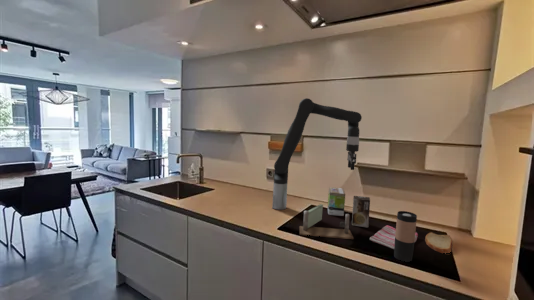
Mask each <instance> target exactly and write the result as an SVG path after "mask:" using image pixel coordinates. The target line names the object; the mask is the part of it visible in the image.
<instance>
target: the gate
mask: <svg viewBox="0 0 534 300" xmlns="http://www.w3.org/2000/svg"><path fill="white" fill-rule="evenodd" d="M323 207H324V204H322V203H321V204H320V203H319V204H318V205H316V206H314V207H312V208H311V209H309V210H308V211H309V213H308V228H309V227H313V226H314V225H315V224H317V223H318V222H320V221H322V220H323Z"/></svg>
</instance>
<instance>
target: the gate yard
mask: <svg viewBox="0 0 534 300" xmlns="http://www.w3.org/2000/svg"><path fill="white" fill-rule="evenodd" d="M308 213H309V210H304V211H303V221H302V222H303V223H302V225H299V227H298V228H299V236H307V235H308V236H309V235H310V236H311V237H319V236H320V237H323V238H334V239H344V240H345V239H346V240H354V239H355V238H354V235H353V234H352V232H351V230H350V229H349V228H350V227H349V226H350V216H351V215H350V214H349V213H345V218H344V219H345V220H344V221H340V222H339V227H340V228H331V227H321V226H320V227H319V226H318V227H317V226H311V227H309V228H308ZM343 228H344V229H343ZM310 236H309V237H310Z"/></svg>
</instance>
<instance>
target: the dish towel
mask: <svg viewBox="0 0 534 300" xmlns="http://www.w3.org/2000/svg"><path fill="white" fill-rule="evenodd" d="M395 232H396V227H393V226H390V225H389V224H388V225H385V226H383V227H382V228H381V229H379V230H378V231H377V232H376V233H374V234H373V235H372V236H370V237H369V241H371V242H372V243H376V244H379V245H381V246H384V247H387V248H389V249H392V250H394V245H395ZM418 236H419V234H418V232H415V243H416V242H417V240H418Z"/></svg>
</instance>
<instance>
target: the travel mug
mask: <svg viewBox="0 0 534 300" xmlns="http://www.w3.org/2000/svg"><path fill="white" fill-rule="evenodd" d="M417 218H418V215H417V214H416V213H414V212H411V211H405V210H400V211H397V216H396V223H395V225H396V226H395V229H396V232H395V245H394V249H393V257H394V258H395V259H396V260H398V261H400V260H401V262H404V261H405V262H406V263H409V262H410V261H411V262H412V261H413V255H414V249H415V243H416V242H415V233H417V231H416V230H417V221H418V219H417ZM405 262H404V263H405Z"/></svg>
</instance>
